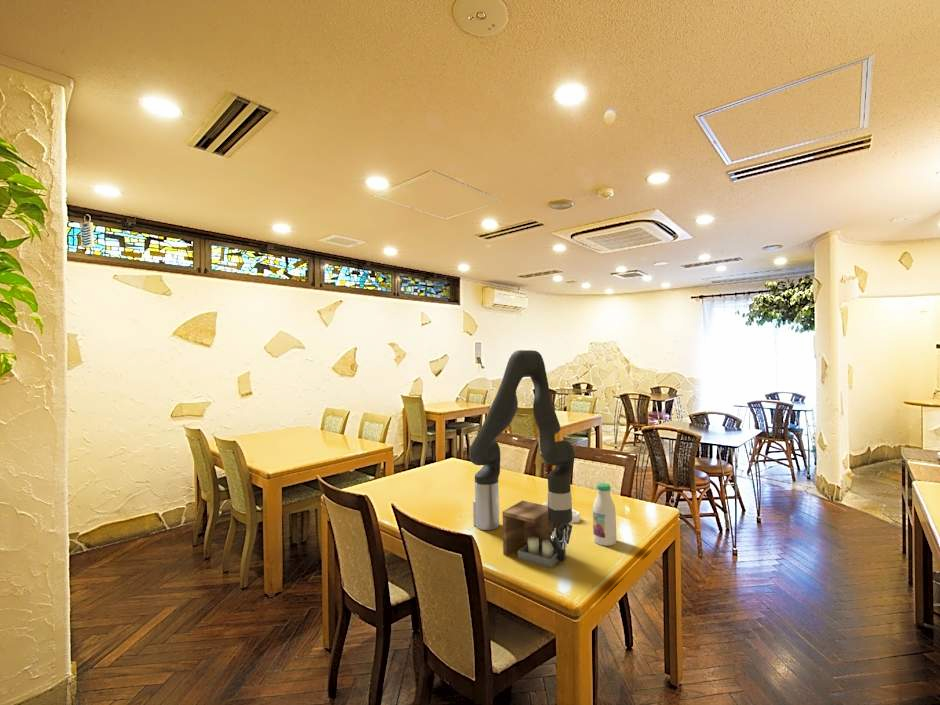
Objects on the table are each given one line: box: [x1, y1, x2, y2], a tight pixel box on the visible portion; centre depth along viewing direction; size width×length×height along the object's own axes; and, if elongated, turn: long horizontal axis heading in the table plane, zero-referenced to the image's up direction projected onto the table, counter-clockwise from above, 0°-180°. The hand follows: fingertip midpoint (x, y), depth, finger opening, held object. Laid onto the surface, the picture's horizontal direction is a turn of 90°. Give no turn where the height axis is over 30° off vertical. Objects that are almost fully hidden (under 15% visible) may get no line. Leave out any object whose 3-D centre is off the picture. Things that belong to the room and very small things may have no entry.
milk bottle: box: [592, 482, 617, 547], centre depth 147 cm, size 8×8×20 cm
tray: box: [517, 543, 560, 570], centre depth 136 cm, size 12×9×3 cm
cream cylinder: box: [528, 536, 539, 555], centre depth 138 cm, size 4×4×5 cm
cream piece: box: [542, 540, 554, 559], centre depth 135 cm, size 4×4×5 cm
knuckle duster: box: [541, 501, 581, 524], centre depth 171 cm, size 3×18×15 cm
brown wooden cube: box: [502, 500, 553, 556], centre depth 141 cm, size 12×13×14 cm
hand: (561, 560), depth 132 cm, fingers closed
